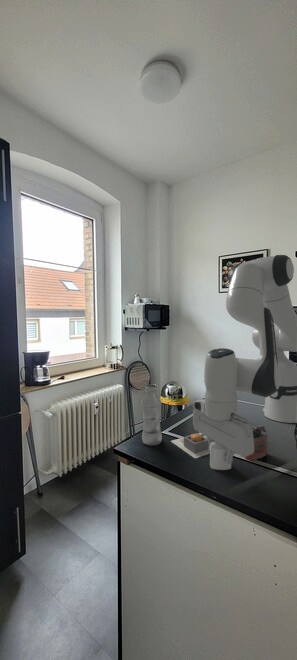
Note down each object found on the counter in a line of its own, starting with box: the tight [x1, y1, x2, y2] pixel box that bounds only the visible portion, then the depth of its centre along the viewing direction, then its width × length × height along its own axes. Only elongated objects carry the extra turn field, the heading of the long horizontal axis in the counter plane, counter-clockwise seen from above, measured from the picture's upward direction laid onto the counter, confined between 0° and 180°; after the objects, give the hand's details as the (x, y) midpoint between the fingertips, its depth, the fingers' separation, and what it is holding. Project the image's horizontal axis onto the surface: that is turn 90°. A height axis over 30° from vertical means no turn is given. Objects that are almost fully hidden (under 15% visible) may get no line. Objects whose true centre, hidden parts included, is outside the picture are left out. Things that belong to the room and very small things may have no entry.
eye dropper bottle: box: [209, 441, 232, 471], centre depth 75 cm, size 4×6×12 cm
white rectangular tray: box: [170, 432, 210, 459], centre depth 90 cm, size 19×13×4 cm
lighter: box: [244, 424, 268, 461], centre depth 81 cm, size 8×3×10 cm, turn 117°
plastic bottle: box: [140, 384, 163, 447], centre depth 91 cm, size 6×7×20 cm
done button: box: [190, 433, 202, 442], centre depth 86 cm, size 3×3×2 cm
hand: (220, 457), depth 75 cm, fingers closed on eye dropper bottle, 4 cm apart
